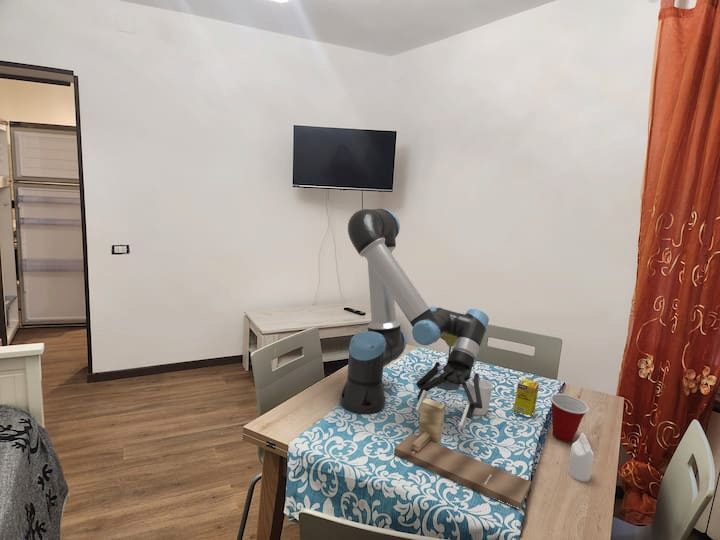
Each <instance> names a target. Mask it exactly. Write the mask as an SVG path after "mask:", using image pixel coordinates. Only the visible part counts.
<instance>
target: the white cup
mask: <svg viewBox="0 0 720 540" xmlns="http://www.w3.org/2000/svg"><path fill="white" fill-rule="evenodd" d="M467 387H468V389H469V392H470V394H471V396H472V399H473V401H474V402H477V401H476V395H475V388H474V382H473V381H472V378H470V379H468V384H467ZM479 388H480V395H481V401H482V408H481V409H480V408H475V409H474V412H473V415H475V416H486V415H487V414H488V411H489V407H490V403H491V399H492V393H493V389H494V385H493V383H492V382H491V381H489V380H487V379H483V378H480V381H479ZM466 401H467V403H466V405H467V404H468V405H470V403H469V400H468V398H467V400H466Z"/></svg>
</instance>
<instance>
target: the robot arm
mask: <svg viewBox="0 0 720 540" xmlns="http://www.w3.org/2000/svg"><path fill="white" fill-rule="evenodd" d="M400 228H401V225H400V220H399V219H398V217H397V215H396V214H395V213H394V212H392V211H390V210H388V209H385V208H372V209H371V208H369V209H368V208H363V209H359V210H357V211H355V212H354V213H353V214H352V215H351V217H350V218H349V220H348V223H347V234H348V237H349V239H350V242H351V244H352V245H353V247H354V249H355V250H356V252H357V253H358V255H359V256H360V257H361V258H362V257H363V258H365V259H366V261H367V271H368V273H367V274H368V287H369V301H370V317H371V318H370V320H371V321H370V322H369V323H368V324H367V330H366V331H364V332H363V331H361V332H358V333H356V334H354V335H353V336H352V337H351V339H350V343H349V346H348V364H347V365H348V366H347V379H346V382H345V384H344V386H343V389H342V391H341V393H340V399H339V401H340V405H341V406H342V407H343V408H344V409H346V410H347V411H349V412H353V413H357V414H365V415H369V414H374V413H378V412H381V411H382V410H384V409H385V407H386V396H385V395H386V394H385V391H384V386H383V374H384V367H386V366H387V365H389V364H390V363H392V362H393V361H395V360H397V359H398V358H400V357H401V355H402V354H403V353H404V351H405V350H406V346H407V337H406V334H405V332H403V331H402V328H401V323H400V322H399V321H398V319H396V304H397V306H398V307H399V309H400V310H401V312H402V313H403V315H404V317H406V319H407V320H408V322H409V324H410V325H411V327H412V330H411V333H412V338H413V340H414V341H415V342H416V343H418V344H419V345H420V346H430V345H431V344H434V343H436V342H438V341H439V339H441V338H440V337H442V336H443V335H445V334H449V335H453V336H457V339H456V341H455V344H454V346H453V347H451V352H450V356H449V359H448V358H447V361H446V363H445V365H443V364H441V362H439V361H436V362H435V364H434V366H433V367H432V368H431V369H430V370H428V372H427V373H426V374H424V375H423V376H422V377H421V378H420V379H418V381H417V382H416V383H415V384H416V386H417V388H418V390H419V393H418V395H417V397H416V399H417V405H416V407H415V410H414V411H416V413H417V414H418V415H420V413H421V404H422V401H423V400H425V399H426V398H427V397H428V395H429V394H428V391H430V390H432V389H433V388H436V387H437V385H439V384H441V383H443V382H446V381H448V382H450V383H454V384H456V385H460V386H462V388H463V390H464V393H465V395H466V397H467V399H468V400H469V403H470V405H468V404H467V403H466V405H465V408H464V411H463V414H462V415H461V420H460V422H459V428H460V429H461V430H465V427H466V423H467V421H468V419H469V420H471V419H472V418H473V415H474V414H473V412H474V409H475V408H480V409H481V408H482V401H481V395H480V388H479V381H480V379H481V377H480V374H479V373H478V372H475V373H471V372H472V370H473V366H474V364H475V360H476V358H477V356H478V354H479V353H478V352H479V351H480V347H481V346H482V345H481V344H482V342H483V339H484V336H485V334H486V332H487V328H488V325H489V320H490V318H489V316H488V315H487V313H485V312H484V311H482V310H481V309H477V308H474V309H473V308H471V309H468V310H467V311H466V313H459V312H456V311H452V310H449V309H445V308H443V307H436V306H428V304H427V303H426V301H425V300H424V298H423V297H422V296H421V294H420V293H419V290H417V288H416V287H415V285H414V284H413V283H412V281H411V279H410V278H409V277H408V275H407V274H406V272H405V271H404V270H403V268H402V267H401V265H400V263H398V261H397V260H396V258H395V257H394V255H393V254H392V253H393V251H394V249H396V247H397V246H396V242H397V241H396V238H397V237H398V235H399V233H400V230H401V229H400ZM442 370H443V372H442ZM439 372H440V374H439V375H438V373H439ZM441 372H442V373H441ZM437 375H438V376H437ZM435 377H436V378H435ZM433 378H435V379H433ZM432 379H433V380H432ZM470 379H472V381H473V382H474V388H475V395H476V401H477V402H474V401H473V399H472V396H471V394H470V392H469V389H468V384H467V381H469V380H470Z"/></svg>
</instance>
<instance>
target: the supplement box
mask: <svg viewBox="0 0 720 540" xmlns="http://www.w3.org/2000/svg"><path fill="white" fill-rule="evenodd" d="M539 386H540V382H538V381H535V380H530V379H528V378H523V377H521V379H520V380H519V381H518V383H517V387H516V392H515V393H516V394H515V400H514V405H513V411H514V412H517V413H522V414H526V415H530V416H531V415H532V413H533V412H534V413H535V411H534V410H536V405H537V398H538V393H539V392H538V391H539ZM534 413H533V414H534ZM532 416H533V415H532Z"/></svg>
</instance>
